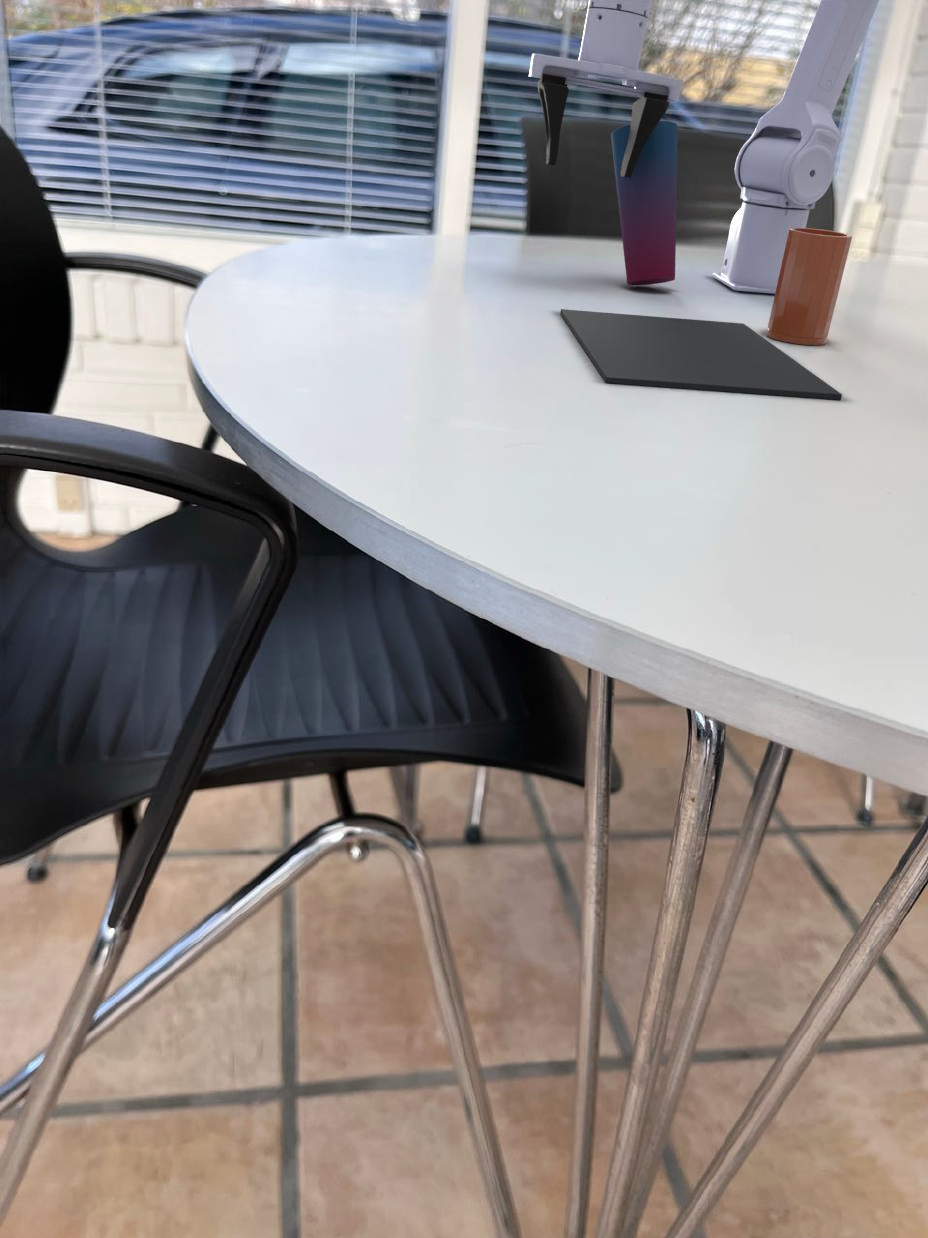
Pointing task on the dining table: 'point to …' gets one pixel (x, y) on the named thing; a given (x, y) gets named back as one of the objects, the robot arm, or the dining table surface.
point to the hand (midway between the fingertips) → (588, 170)
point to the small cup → (808, 285)
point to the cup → (648, 205)
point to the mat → (690, 355)
